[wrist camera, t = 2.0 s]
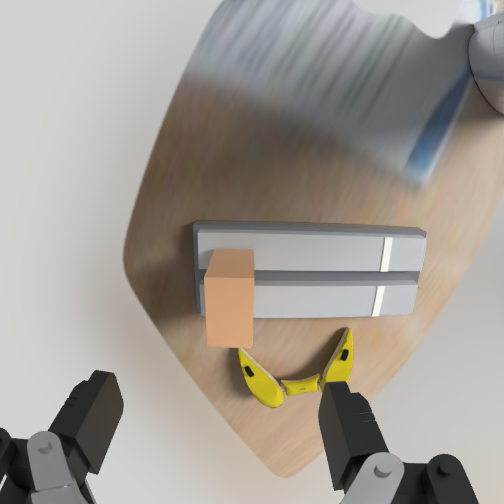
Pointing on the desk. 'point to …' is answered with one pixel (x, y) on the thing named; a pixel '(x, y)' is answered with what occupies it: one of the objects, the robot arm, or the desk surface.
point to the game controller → (272, 392)
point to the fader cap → (230, 298)
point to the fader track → (319, 266)
